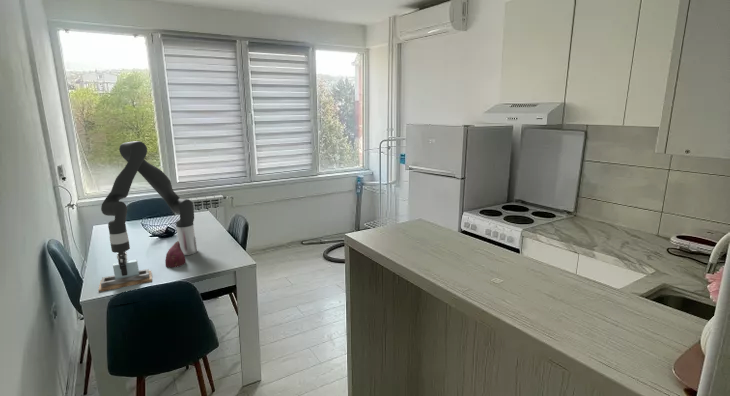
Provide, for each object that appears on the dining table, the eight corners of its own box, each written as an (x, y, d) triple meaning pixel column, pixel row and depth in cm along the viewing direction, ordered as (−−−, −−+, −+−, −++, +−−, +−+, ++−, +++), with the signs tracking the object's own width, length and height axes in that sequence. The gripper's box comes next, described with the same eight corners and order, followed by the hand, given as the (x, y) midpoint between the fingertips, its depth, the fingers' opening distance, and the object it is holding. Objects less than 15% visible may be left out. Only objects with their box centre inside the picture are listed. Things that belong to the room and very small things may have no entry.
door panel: (139, 275, 190) (136, 259, 188) (139, 278, 187) (136, 261, 185) (116, 280, 185) (113, 263, 183) (115, 282, 182) (112, 265, 180)
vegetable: (188, 265, 213) (193, 240, 212) (179, 271, 203) (185, 244, 201) (169, 261, 212) (174, 236, 211) (160, 266, 202) (165, 240, 201)
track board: (151, 272, 197) (150, 266, 196) (152, 281, 186) (151, 275, 186) (101, 282, 186) (100, 276, 185) (98, 292, 176) (97, 285, 175)
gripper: (128, 243, 177) (133, 277, 181) (129, 235, 189) (134, 267, 193) (109, 246, 173) (115, 280, 177) (111, 238, 185) (116, 270, 189)
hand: (124, 273), depth 185 cm, fingers open, 3 cm apart
